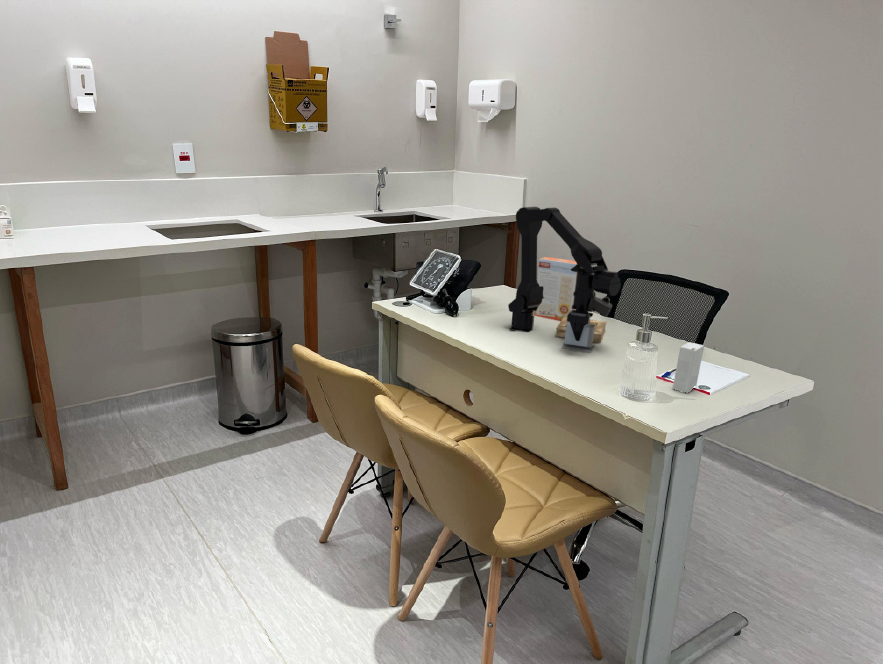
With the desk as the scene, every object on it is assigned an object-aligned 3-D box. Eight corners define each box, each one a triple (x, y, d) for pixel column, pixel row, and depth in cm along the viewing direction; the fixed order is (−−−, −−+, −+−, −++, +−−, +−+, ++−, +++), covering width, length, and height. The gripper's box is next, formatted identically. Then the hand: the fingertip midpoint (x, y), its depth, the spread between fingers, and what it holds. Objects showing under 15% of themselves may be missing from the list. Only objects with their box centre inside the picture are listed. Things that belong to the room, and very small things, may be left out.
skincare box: (680, 384, 185) (687, 341, 182) (697, 388, 183) (704, 345, 179) (671, 389, 181) (678, 345, 177) (688, 394, 178) (695, 350, 175)
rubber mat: (560, 349, 208) (560, 348, 208) (565, 341, 216) (565, 340, 216) (590, 354, 205) (591, 353, 205) (594, 346, 214) (594, 344, 213)
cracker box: (577, 320, 241) (584, 261, 234) (570, 324, 236) (577, 264, 229) (540, 313, 248) (546, 255, 241) (533, 316, 243) (539, 257, 237)
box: (564, 343, 209) (566, 324, 208) (566, 339, 214) (568, 320, 212) (590, 347, 207) (593, 328, 205) (592, 343, 211) (595, 324, 209)
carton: (554, 338, 218) (556, 327, 217) (563, 325, 233) (564, 315, 232) (599, 345, 214) (601, 334, 213) (605, 331, 229) (606, 320, 228)
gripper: (609, 298, 194) (602, 351, 199) (615, 285, 211) (608, 334, 216) (569, 293, 198) (563, 345, 202) (578, 281, 215) (572, 329, 219)
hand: (578, 338), depth 210 cm, fingers closed on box, 4 cm apart
